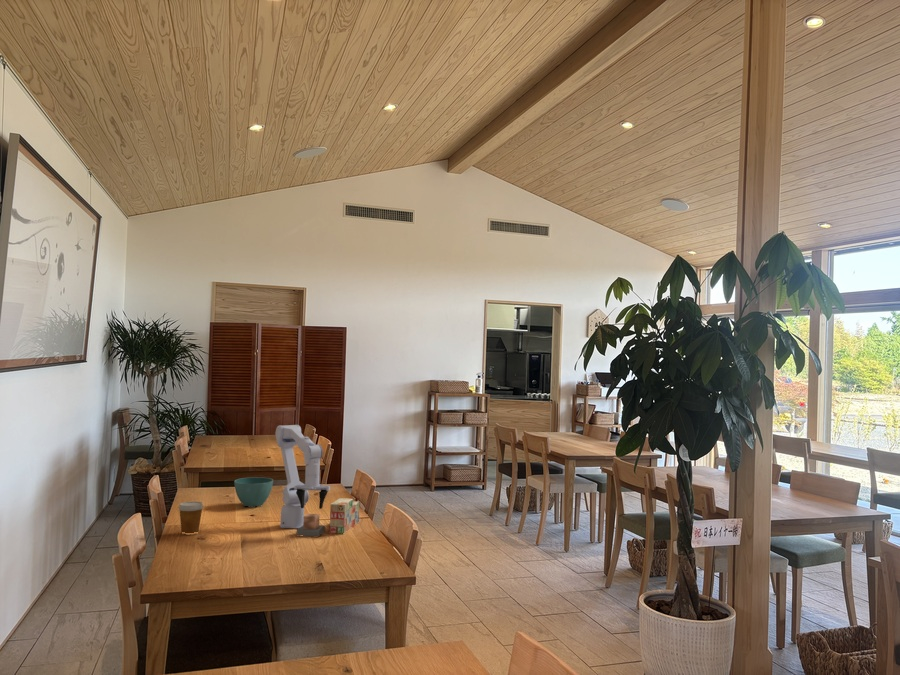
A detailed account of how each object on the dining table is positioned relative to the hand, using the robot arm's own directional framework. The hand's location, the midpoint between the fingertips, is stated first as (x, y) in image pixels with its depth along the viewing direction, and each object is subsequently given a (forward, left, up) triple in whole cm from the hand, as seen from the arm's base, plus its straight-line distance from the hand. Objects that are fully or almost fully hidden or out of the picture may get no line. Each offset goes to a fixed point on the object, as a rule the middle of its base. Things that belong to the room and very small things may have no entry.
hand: (311, 508), depth 275 cm
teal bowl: (-43, +49, -11) cm, 66 cm away
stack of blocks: (+11, +12, -11) cm, 20 cm away
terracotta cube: (0, 0, -8) cm, 8 cm away
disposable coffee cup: (-48, -7, -11) cm, 50 cm away
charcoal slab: (0, 0, -11) cm, 11 cm away
